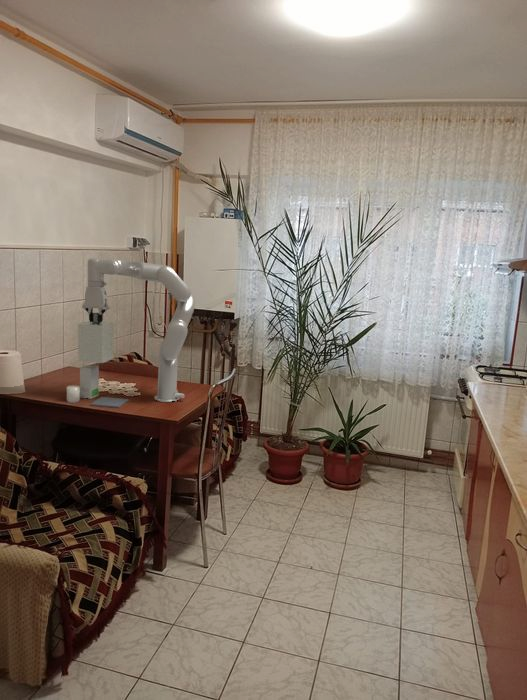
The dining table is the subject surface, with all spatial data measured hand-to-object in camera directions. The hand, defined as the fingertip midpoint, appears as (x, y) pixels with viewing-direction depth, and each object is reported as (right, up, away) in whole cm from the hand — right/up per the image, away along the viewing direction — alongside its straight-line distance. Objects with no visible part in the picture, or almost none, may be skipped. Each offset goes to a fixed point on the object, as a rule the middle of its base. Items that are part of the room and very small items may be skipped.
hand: (95, 321), depth 263 cm
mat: (+7, -40, 0) cm, 40 cm away
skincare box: (-6, -38, +9) cm, 39 cm away
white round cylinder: (-11, -39, 0) cm, 40 cm away
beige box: (-1, -19, +4) cm, 19 cm away
